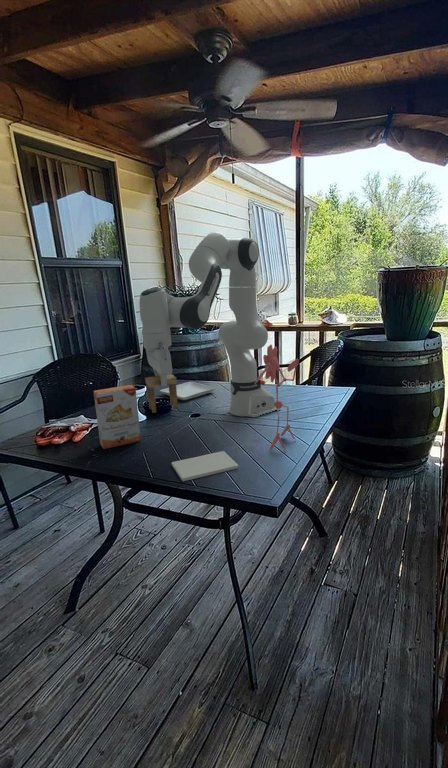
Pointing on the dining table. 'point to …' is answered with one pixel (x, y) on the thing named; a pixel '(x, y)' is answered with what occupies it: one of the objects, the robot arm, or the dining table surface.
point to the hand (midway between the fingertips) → (161, 383)
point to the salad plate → (189, 390)
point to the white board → (204, 465)
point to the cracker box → (117, 416)
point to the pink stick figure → (270, 370)
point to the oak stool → (155, 382)
